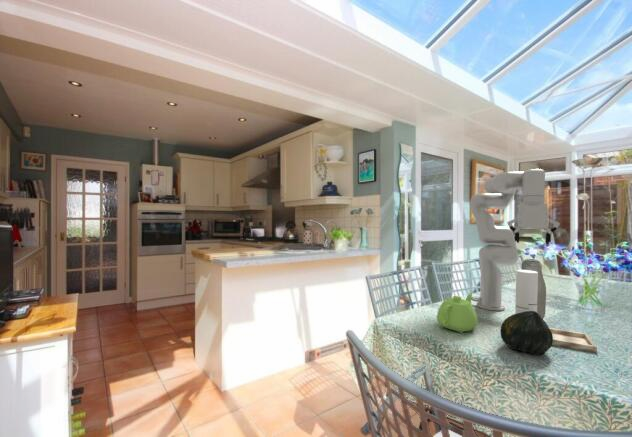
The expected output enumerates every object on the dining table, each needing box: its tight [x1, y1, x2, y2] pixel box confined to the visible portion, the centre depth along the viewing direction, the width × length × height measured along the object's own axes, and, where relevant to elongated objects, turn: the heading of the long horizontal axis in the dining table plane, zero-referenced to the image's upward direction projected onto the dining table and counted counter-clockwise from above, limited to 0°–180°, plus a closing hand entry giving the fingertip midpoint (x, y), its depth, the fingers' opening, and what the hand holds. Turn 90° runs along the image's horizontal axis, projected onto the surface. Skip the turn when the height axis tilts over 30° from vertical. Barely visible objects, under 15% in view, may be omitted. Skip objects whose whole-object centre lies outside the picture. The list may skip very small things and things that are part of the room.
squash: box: [499, 311, 553, 355], centre depth 108 cm, size 14×15×15 cm
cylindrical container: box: [514, 269, 538, 314], centre depth 124 cm, size 7×7×25 cm
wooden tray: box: [549, 327, 598, 354], centre depth 116 cm, size 14×14×2 cm
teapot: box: [436, 293, 479, 333], centre depth 130 cm, size 22×15×13 cm
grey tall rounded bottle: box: [520, 258, 547, 320], centre depth 137 cm, size 10×10×28 cm
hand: (532, 243), depth 124 cm, fingers open, 9 cm apart
